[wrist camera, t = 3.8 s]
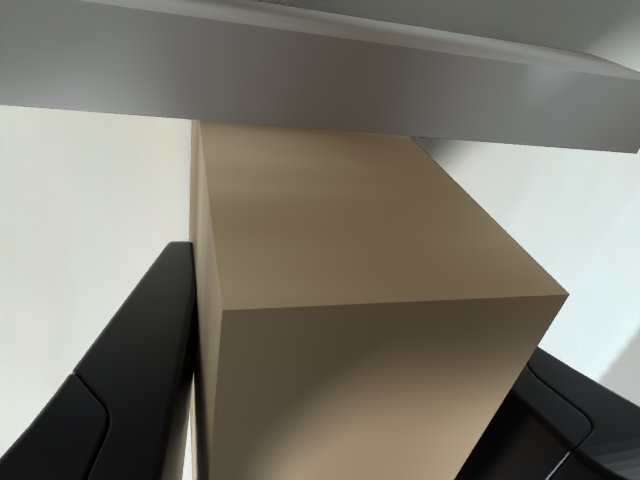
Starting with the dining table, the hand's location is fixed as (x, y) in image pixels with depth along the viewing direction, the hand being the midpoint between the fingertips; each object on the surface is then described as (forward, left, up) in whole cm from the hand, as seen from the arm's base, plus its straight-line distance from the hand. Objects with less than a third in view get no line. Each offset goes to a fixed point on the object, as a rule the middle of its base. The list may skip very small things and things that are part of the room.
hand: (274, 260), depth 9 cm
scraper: (0, 0, -2) cm, 2 cm away
